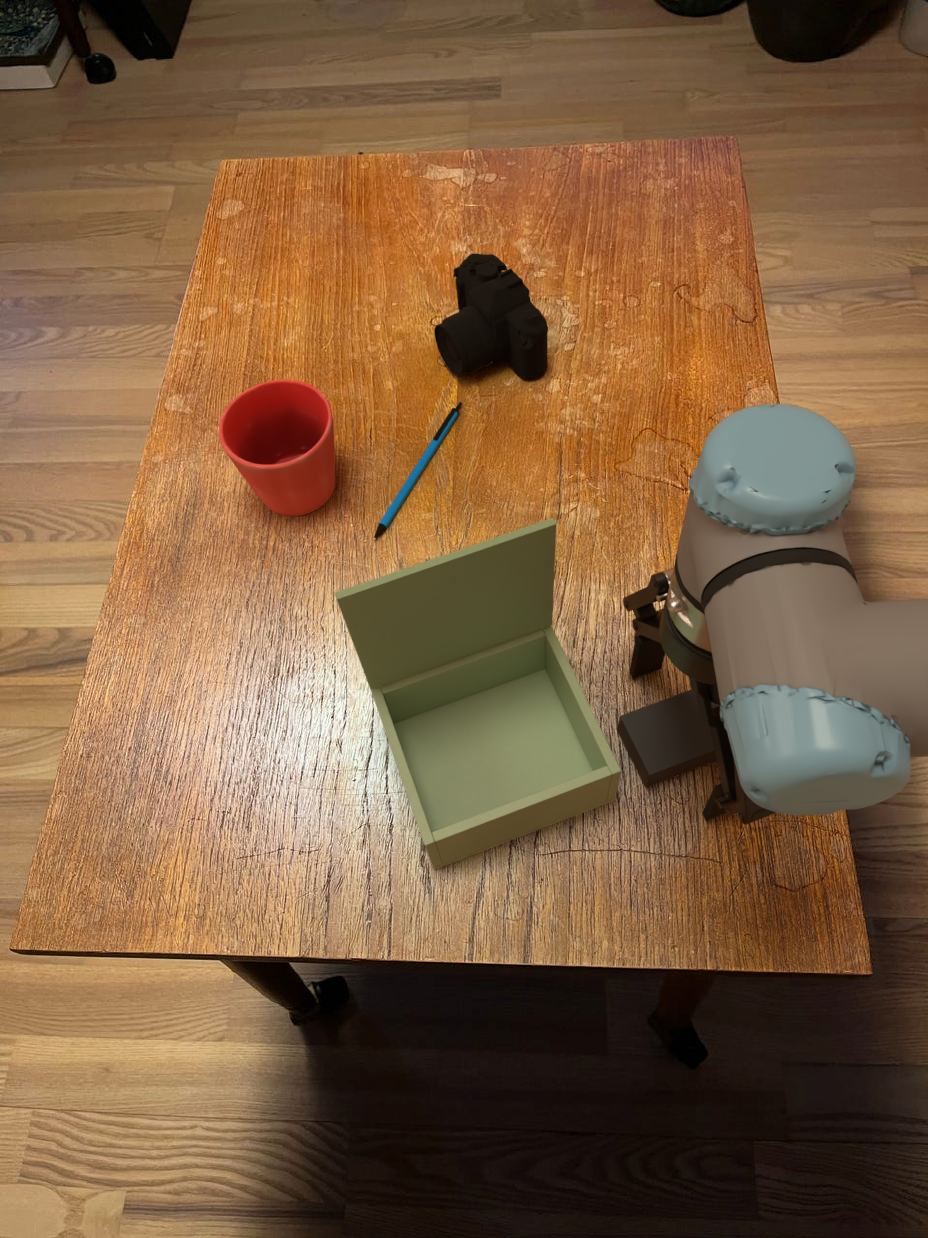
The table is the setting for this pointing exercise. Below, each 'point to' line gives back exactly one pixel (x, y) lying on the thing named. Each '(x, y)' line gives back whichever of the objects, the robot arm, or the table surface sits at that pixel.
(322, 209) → the table surface
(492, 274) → the film camera
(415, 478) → the pen
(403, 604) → the cover
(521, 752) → the case
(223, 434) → the flower pot
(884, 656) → the robot arm
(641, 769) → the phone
